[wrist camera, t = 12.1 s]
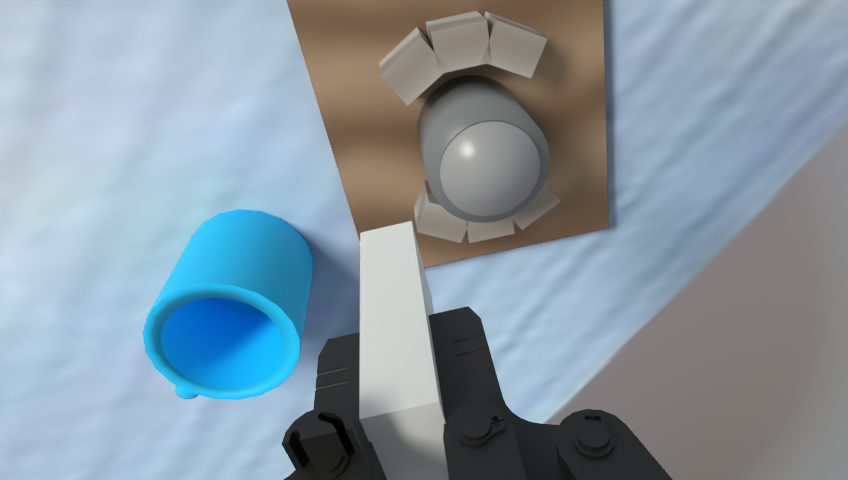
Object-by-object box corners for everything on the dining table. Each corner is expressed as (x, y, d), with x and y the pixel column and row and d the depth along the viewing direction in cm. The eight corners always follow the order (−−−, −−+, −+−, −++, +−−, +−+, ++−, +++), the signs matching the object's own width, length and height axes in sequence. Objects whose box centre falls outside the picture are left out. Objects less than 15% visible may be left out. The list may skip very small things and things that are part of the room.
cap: (406, 89, 30) (415, 126, 25) (513, 63, 30) (546, 96, 25) (428, 185, 33) (440, 238, 28) (525, 163, 33) (557, 211, 28)
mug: (219, 186, 34) (180, 257, 27) (336, 246, 36) (328, 325, 29) (145, 318, 38) (95, 409, 31) (254, 363, 41) (230, 455, 34)
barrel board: (286, -14, 28) (273, -4, 25) (592, -85, 28) (625, -85, 24) (371, 268, 37) (371, 306, 34) (602, 219, 37) (626, 252, 33)
